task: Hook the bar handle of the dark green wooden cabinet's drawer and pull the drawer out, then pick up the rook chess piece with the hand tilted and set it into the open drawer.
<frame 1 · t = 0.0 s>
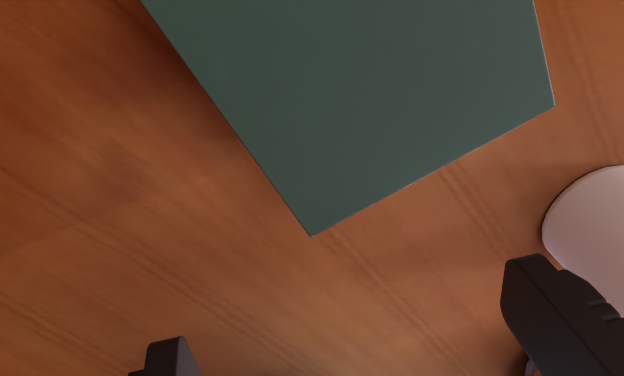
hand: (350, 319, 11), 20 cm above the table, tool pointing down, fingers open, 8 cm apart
mug: (599, 217, 40), on the table
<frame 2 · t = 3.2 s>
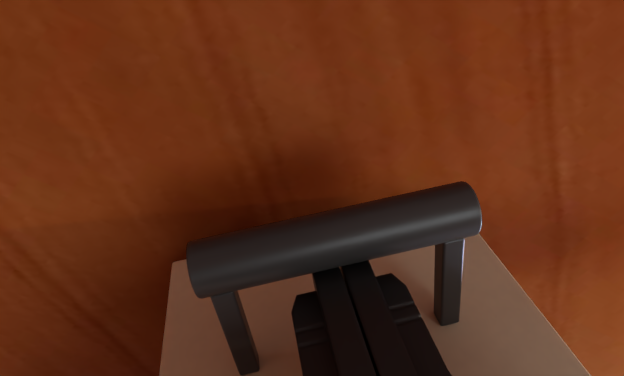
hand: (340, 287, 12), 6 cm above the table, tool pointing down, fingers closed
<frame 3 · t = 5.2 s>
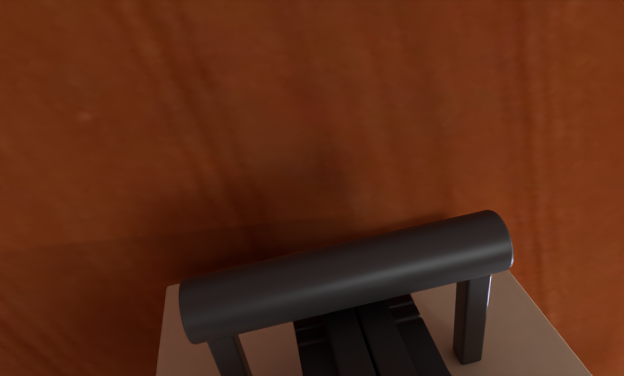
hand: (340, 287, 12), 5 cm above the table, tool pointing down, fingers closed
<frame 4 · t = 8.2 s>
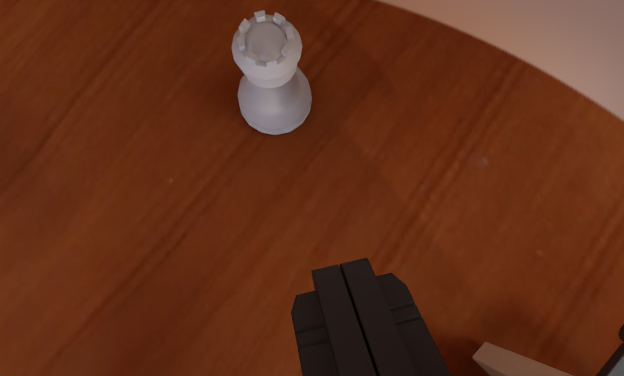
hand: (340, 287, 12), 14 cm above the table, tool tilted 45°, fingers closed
rook chess piece: (275, 103, 28), on the table
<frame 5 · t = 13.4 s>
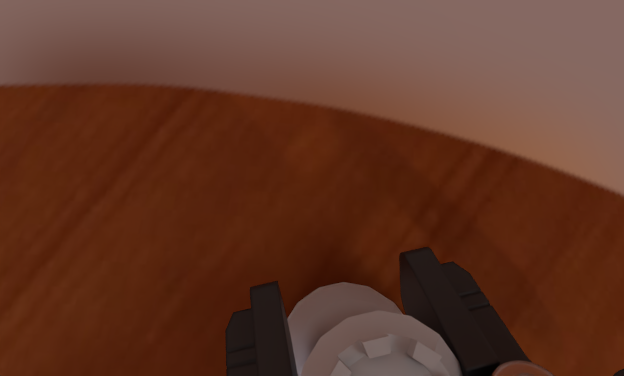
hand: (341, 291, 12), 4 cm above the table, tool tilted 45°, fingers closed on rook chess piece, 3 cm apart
rook chess piece: (343, 348, 16), on the table, touching gripper
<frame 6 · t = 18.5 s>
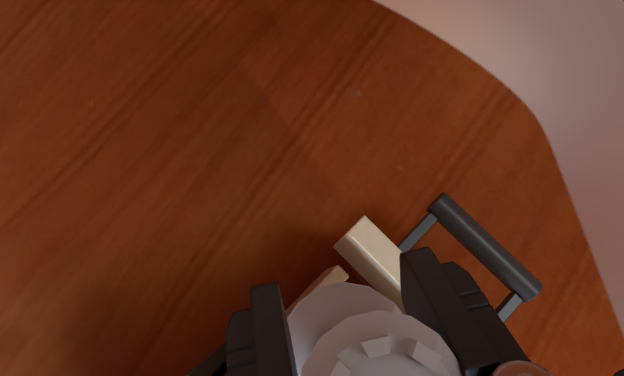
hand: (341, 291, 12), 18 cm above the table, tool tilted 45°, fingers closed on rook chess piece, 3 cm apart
drawer: (372, 359, 24), point 5 cm above the table, slide at 9.0 cm
rook chess piece: (343, 348, 16), point 14 cm above the table, touching gripper
when the fingers open (8 cm above the table, at t = 23.8 s): rook chess piece drops 2 cm, resting on drawer.
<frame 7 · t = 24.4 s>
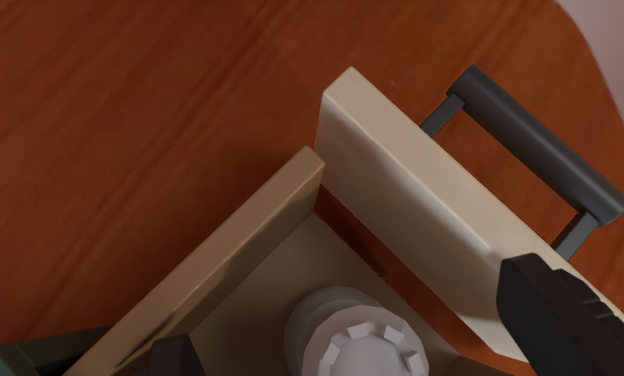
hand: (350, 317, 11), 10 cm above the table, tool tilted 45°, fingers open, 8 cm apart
drawer: (367, 318, 15), point 5 cm above the table, slide at 9.8 cm, touching rook chess piece
rook chess piece: (337, 341, 19), point 2 cm above the table, touching drawer
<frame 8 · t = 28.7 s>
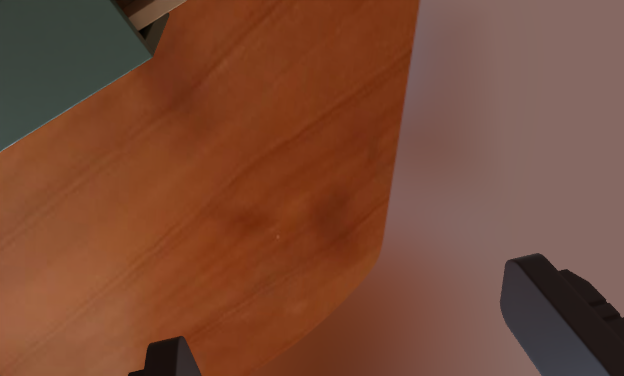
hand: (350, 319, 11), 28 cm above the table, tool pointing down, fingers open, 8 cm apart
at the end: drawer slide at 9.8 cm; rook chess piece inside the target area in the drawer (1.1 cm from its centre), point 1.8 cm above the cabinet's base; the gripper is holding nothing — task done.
